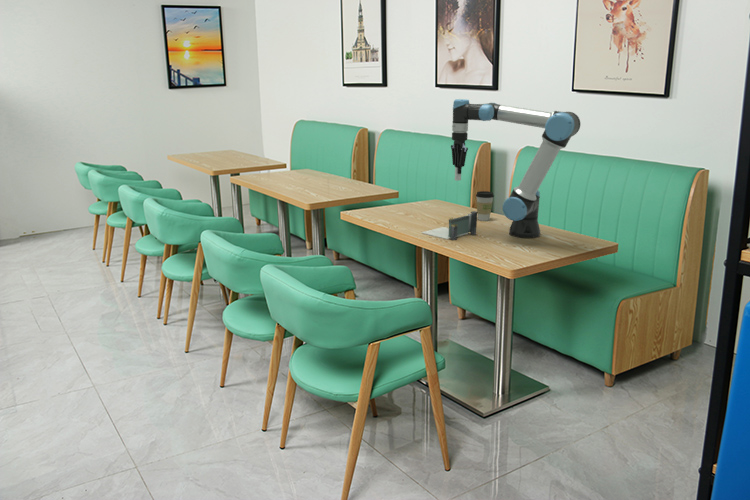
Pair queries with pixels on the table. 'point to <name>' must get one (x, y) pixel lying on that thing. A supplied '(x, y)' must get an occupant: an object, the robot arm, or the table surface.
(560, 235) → the table surface
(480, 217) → the coffee cup
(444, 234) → the mat
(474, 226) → the hinge post
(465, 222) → the gate
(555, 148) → the robot arm
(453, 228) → the post
